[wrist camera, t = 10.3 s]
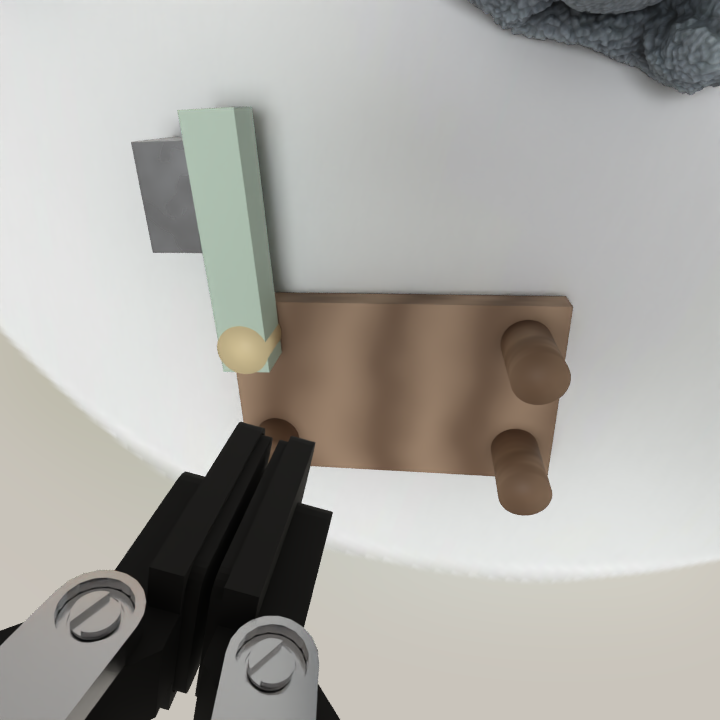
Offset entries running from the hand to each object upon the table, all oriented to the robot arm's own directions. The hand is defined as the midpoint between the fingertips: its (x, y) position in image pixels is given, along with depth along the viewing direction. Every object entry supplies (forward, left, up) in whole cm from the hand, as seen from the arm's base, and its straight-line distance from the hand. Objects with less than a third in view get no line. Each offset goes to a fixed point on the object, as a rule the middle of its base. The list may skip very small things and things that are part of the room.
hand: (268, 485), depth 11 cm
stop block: (+11, -3, -25) cm, 28 cm away
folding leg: (+8, 0, -23) cm, 24 cm away
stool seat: (-1, +10, -25) cm, 27 cm away
